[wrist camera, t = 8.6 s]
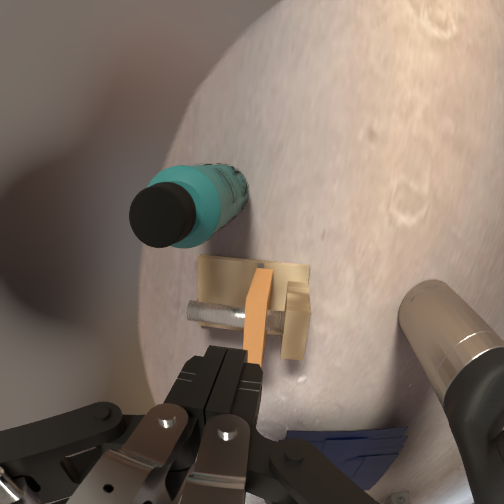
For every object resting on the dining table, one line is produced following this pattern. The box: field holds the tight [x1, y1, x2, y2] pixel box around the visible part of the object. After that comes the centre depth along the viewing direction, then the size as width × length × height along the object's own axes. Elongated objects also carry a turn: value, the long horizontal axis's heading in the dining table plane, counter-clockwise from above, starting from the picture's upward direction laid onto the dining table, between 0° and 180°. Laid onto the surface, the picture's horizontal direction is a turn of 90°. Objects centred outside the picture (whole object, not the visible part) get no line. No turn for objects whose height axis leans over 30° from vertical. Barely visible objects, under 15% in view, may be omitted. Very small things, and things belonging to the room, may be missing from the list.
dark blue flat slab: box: [279, 426, 408, 490], centre depth 48 cm, size 24×30×4 cm
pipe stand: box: [187, 254, 311, 360], centre depth 36 cm, size 14×10×9 cm
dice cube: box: [385, 492, 411, 504], centre depth 50 cm, size 5×5×5 cm
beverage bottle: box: [129, 163, 249, 248], centre depth 27 cm, size 6×7×20 cm
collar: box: [243, 268, 273, 367], centre depth 34 cm, size 2×9×9 cm, turn 176°
